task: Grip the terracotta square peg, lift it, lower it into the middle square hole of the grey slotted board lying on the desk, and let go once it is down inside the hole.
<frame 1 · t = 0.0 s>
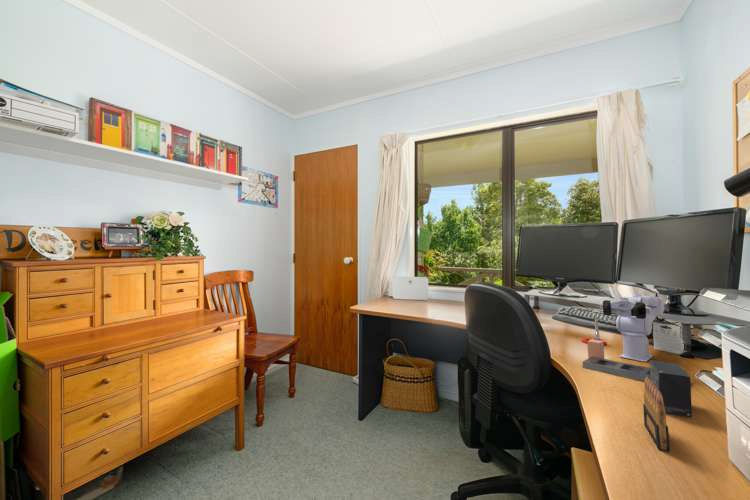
hand: (618, 311, 108), 21 cm above the table, tool horizontal, fingers open, 7 cm apart
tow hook: (593, 343, 141), on the table
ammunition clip: (656, 438, 69), on the table
small box: (671, 408, 82), on the table
peg: (596, 359, 120), on the table
ink box: (668, 352, 125), on the table, touching arm
grey slotted board: (632, 374, 104), on the table
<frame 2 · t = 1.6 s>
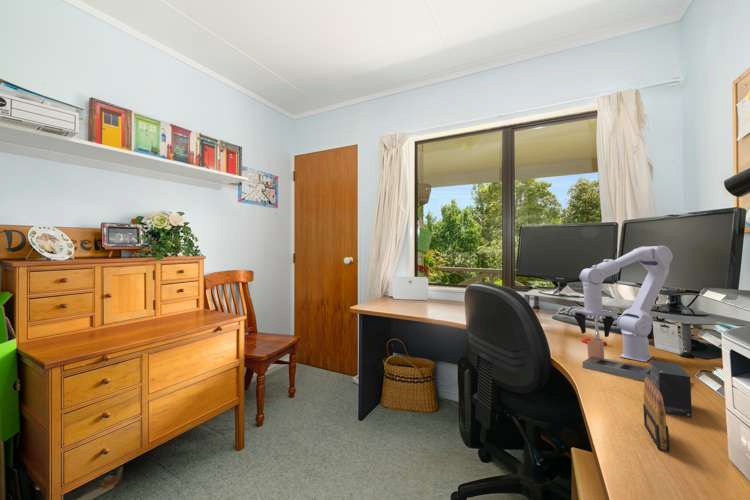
hand: (594, 334, 120), 9 cm above the table, tool pointing down, fingers open, 7 cm apart
ink box: (668, 351, 125), on the table
everything else where it was.
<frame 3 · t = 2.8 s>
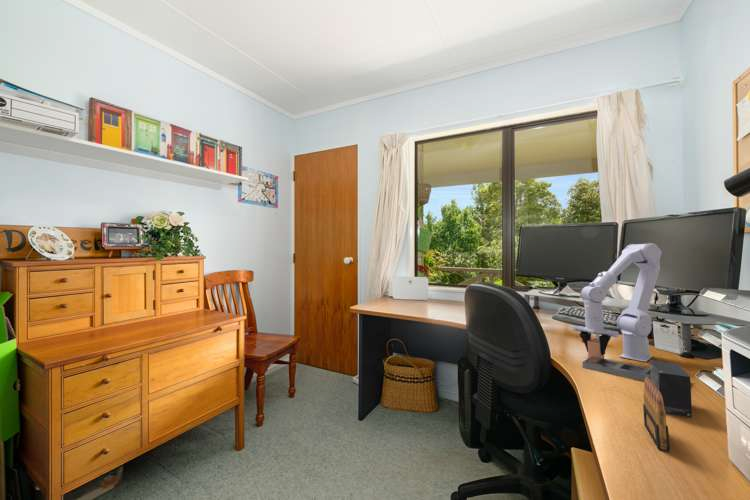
hand: (596, 352, 120), 2 cm above the table, tool pointing down, fingers closed on peg, 4 cm apart
peg: (596, 359, 120), on the table, touching gripper
everything else where it was.
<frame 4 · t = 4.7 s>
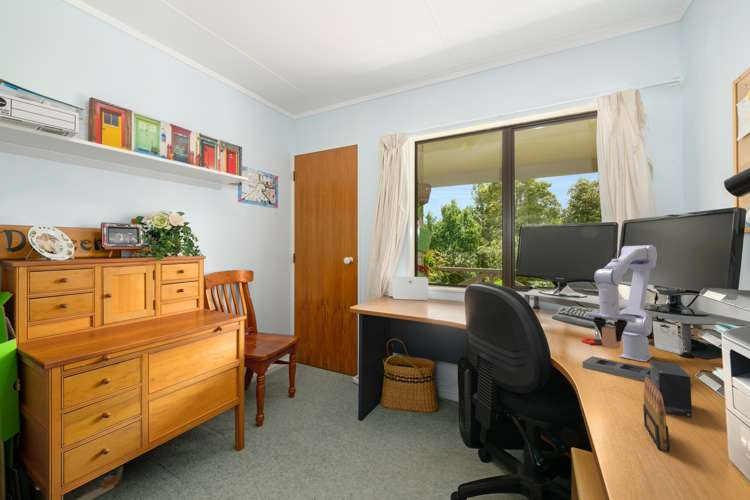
hand: (611, 339, 112), 9 cm above the table, tool pointing down, fingers closed on peg, 4 cm apart
peg: (611, 346, 112), point 7 cm above the table, touching gripper
everything else where it was.
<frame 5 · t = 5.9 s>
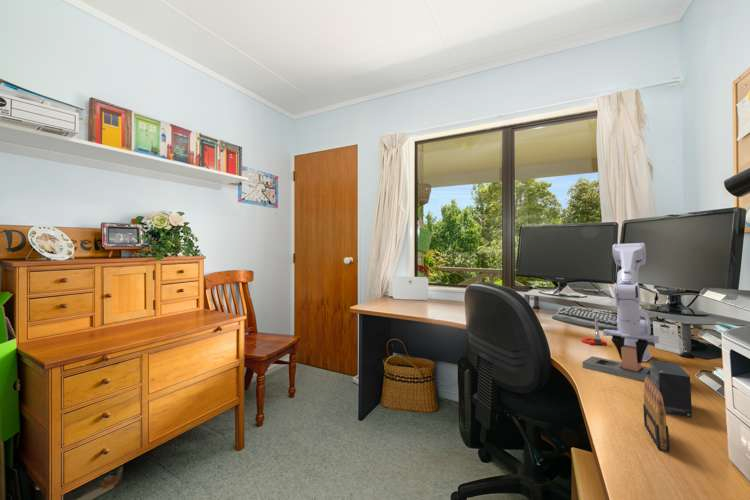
hand: (631, 360, 104), 5 cm above the table, tool pointing down, fingers closed on peg, 4 cm apart
peg: (631, 368, 104), point 2 cm above the table, touching gripper
everything else where it was.
when the fingers open (3 cm above the table, at t = 6.5 s): peg stays where it is, resting in grey slotted board.
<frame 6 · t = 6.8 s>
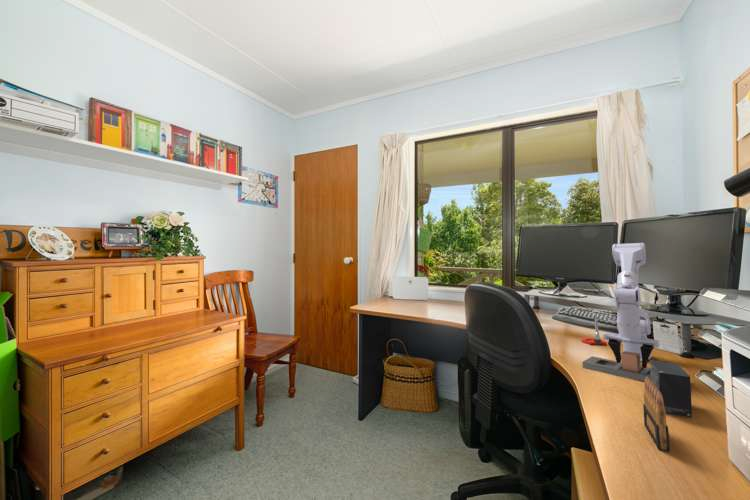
hand: (631, 364, 104), 3 cm above the table, tool pointing down, fingers open, 6 cm apart
peg: (631, 374, 104), resting in grey slotted board
everything else where it was.
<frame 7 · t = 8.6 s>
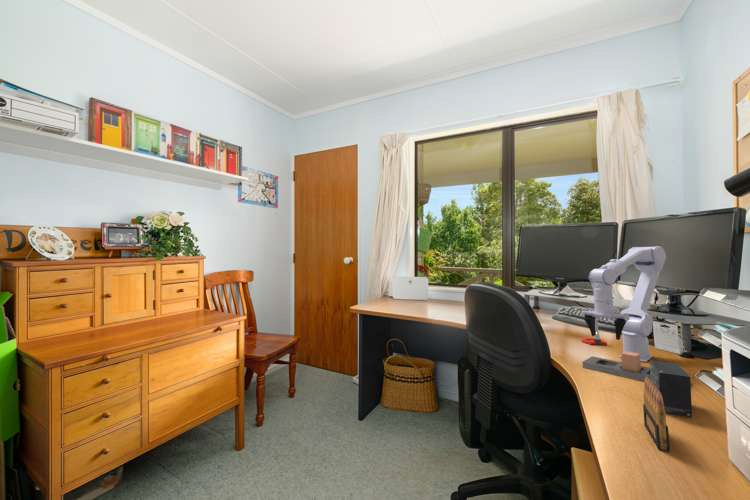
hand: (605, 337, 116), 9 cm above the table, tool pointing down, fingers open, 7 cm apart
nothing on the table moved.
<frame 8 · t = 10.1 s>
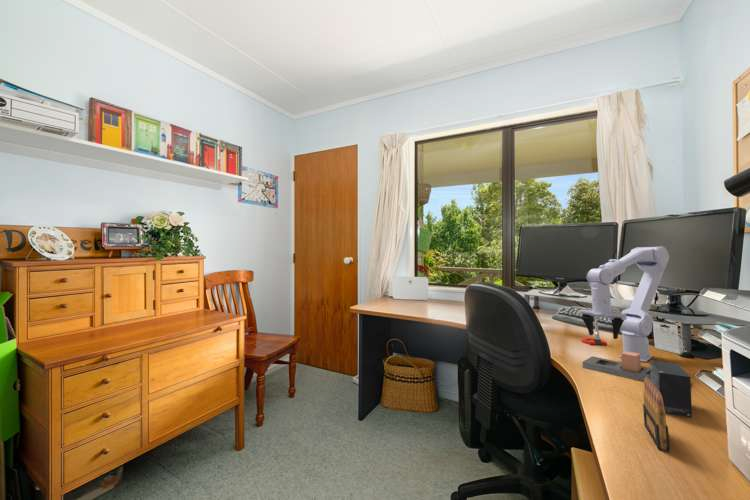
hand: (603, 336, 117), 9 cm above the table, tool pointing down, fingers open, 7 cm apart
nothing on the table moved.
at the end: peg 0.1 cm off-centre on the grey slotted board, point 0.0 cm above the grey slotted board's base; peg tilted 0°; the gripper is holding nothing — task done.
